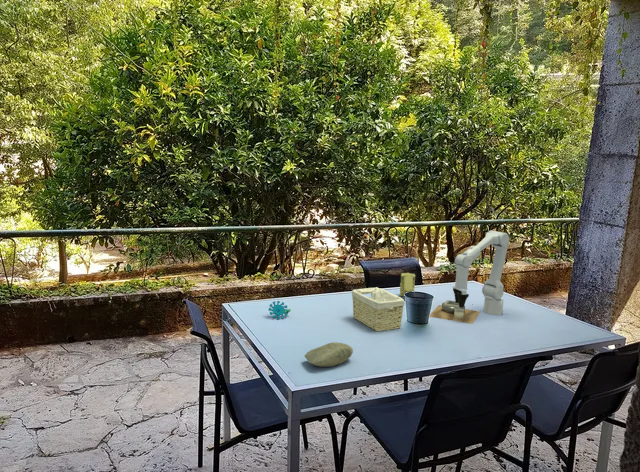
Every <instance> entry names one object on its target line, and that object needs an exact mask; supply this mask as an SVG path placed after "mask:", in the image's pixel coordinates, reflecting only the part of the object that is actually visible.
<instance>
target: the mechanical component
mask: <svg viewBox="0 0 640 472" xmlns="http://www.w3.org/2000/svg"><path fill="white" fill-rule="evenodd" d="M415 281H416V274H415V273H410V272H402V273H401V274H400V283H399V297H405V296H404V294H405V293H406V292H412V291H414V292H415V284H416V283H415Z"/></svg>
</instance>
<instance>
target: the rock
mask: <svg viewBox="0 0 640 472" xmlns="http://www.w3.org/2000/svg"><path fill="white" fill-rule="evenodd" d="M353 353H354V350H353V348H352V347H351V346H350V345H349V344H346V343H344V342H335V341H334V342H330V343H327V344H324V345H321V346H319V347H316V348H313V349H310V350H309V351H307V352H306V353H305V354H304V357H305V359H306V360H307V362H308V363H309V364H311V365H312V366H313V365H314V366H316V367H322V368H324V367H325V368H327V367H328V368H329V367H335V366H338V365H340V364H343V363H344V362H346V361H348V359H350V358H351V357H352V355H353Z"/></svg>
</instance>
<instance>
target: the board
mask: <svg viewBox="0 0 640 472" xmlns="http://www.w3.org/2000/svg"><path fill="white" fill-rule="evenodd" d="M441 309H442V304H439V305H437V306H436V308H435V309H434V310H432V312H430V314H429V315H430V316H429V315H428V316H429V318H436V319H440V320H441V319H442V320H448V321H453V322H459V323H464V324H471V325H473V324H474V323H475V321H476V320H477V318H478V317H479V315H480V313H481V312H482V311H480V310H475V309H474V310H473V309H469V308H467V309H466V308H465V313H463V319H456V318H454V314H450V313H446V312H443V311H442V310H441Z"/></svg>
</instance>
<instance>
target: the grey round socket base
mask: <svg viewBox="0 0 640 472" xmlns="http://www.w3.org/2000/svg"><path fill="white" fill-rule="evenodd" d="M441 305H442V309H441V310H442V311H443V312H446V313H450V314H454V312H455V311H454V308H462V309H464V313H465V309H466V305H464V307H459V303H456V302H455V300H449V299H447V300H446V301H445V302H442V303H441Z"/></svg>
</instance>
